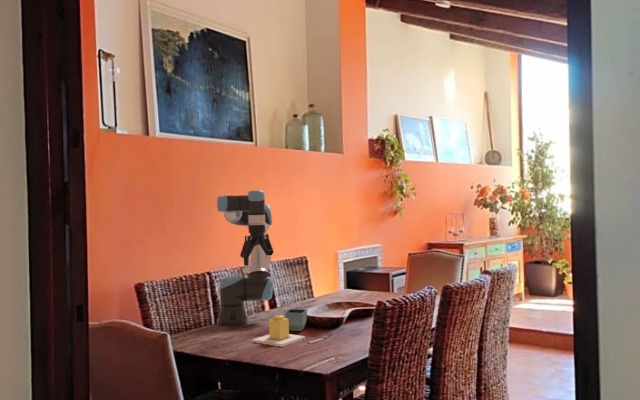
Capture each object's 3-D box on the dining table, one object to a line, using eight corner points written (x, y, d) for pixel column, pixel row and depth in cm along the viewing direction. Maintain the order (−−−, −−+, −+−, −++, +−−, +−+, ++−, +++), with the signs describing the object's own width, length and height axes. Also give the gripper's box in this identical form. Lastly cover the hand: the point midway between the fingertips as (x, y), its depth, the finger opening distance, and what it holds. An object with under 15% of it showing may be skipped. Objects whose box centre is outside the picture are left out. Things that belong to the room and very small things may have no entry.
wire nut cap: (278, 335, 257) (277, 314, 257) (289, 337, 254) (288, 315, 254) (269, 338, 252) (269, 316, 252) (280, 339, 249) (279, 318, 249)
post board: (276, 334, 264) (276, 322, 264) (305, 339, 255) (304, 326, 255) (253, 342, 251) (252, 328, 251) (282, 347, 242) (281, 333, 242)
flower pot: (284, 331, 270) (284, 312, 270) (290, 327, 278) (289, 308, 278) (303, 332, 268) (302, 313, 268) (307, 328, 276) (307, 309, 276)
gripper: (268, 223, 279) (269, 267, 279) (231, 225, 258) (232, 273, 258) (280, 223, 274) (281, 268, 274) (244, 225, 254) (245, 274, 254)
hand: (257, 271), depth 266 cm, fingers open, 13 cm apart
